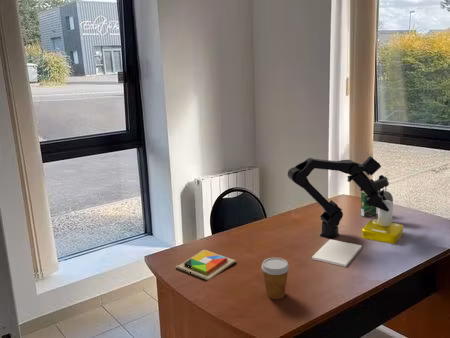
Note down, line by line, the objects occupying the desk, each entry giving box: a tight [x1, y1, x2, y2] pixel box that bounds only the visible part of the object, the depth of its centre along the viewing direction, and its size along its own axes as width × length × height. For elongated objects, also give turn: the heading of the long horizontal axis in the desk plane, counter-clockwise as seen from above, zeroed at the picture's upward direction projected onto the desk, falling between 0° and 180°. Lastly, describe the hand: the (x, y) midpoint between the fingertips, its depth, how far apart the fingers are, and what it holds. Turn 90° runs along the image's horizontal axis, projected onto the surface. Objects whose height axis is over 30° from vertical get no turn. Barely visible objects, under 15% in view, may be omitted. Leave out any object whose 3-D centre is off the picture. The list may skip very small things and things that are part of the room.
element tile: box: [361, 219, 404, 245], centre depth 200 cm, size 15×15×5 cm
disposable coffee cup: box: [261, 257, 290, 300], centre depth 154 cm, size 10×10×12 cm
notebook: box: [311, 239, 362, 268], centre depth 184 cm, size 14×20×1 cm
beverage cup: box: [384, 187, 394, 203], centre depth 212 cm, size 7×7×20 cm
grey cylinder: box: [377, 200, 394, 226], centre depth 197 cm, size 6×6×10 cm
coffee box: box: [360, 191, 377, 218], centre depth 222 cm, size 8×3×13 cm, turn 112°
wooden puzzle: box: [175, 249, 237, 281], centre depth 178 cm, size 18×19×4 cm
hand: (388, 208), depth 196 cm, fingers closed on grey cylinder, 6 cm apart
